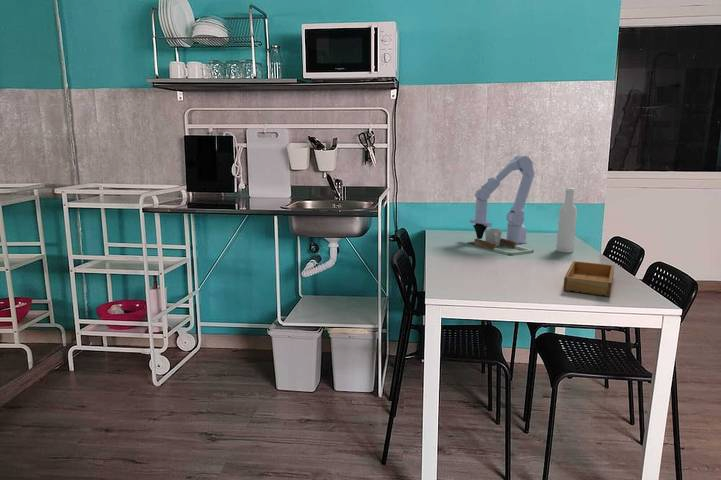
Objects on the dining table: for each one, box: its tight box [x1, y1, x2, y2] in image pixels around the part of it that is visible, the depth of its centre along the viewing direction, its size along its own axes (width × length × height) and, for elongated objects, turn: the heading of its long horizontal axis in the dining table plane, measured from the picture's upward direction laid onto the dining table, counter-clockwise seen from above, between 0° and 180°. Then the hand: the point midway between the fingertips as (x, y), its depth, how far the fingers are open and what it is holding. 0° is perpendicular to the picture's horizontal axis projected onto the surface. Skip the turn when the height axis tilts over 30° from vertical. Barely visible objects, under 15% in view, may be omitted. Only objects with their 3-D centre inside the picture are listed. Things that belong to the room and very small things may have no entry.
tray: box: [563, 260, 616, 297], centre depth 198 cm, size 31×15×6 cm, turn 153°
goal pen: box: [493, 245, 534, 256], centre depth 253 cm, size 14×11×1 cm
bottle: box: [555, 187, 578, 254], centre depth 253 cm, size 8×8×30 cm
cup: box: [484, 227, 503, 247], centre depth 265 cm, size 11×8×8 cm
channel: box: [473, 237, 517, 251], centre depth 264 cm, size 14×14×3 cm
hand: (479, 238), depth 274 cm, fingers closed
